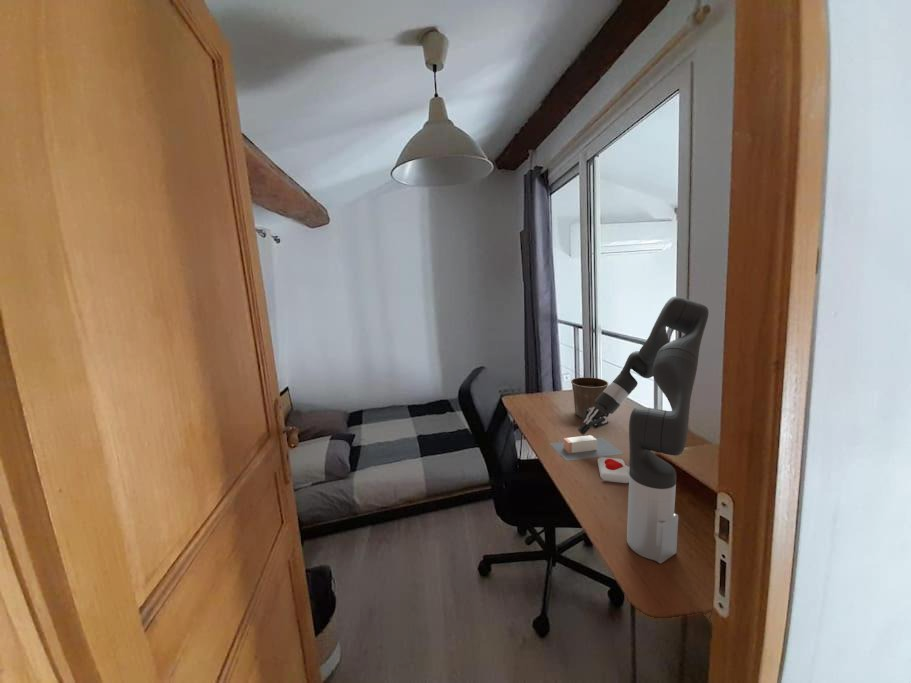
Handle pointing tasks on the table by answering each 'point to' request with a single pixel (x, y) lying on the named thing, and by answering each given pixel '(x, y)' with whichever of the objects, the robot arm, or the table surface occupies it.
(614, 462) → the icon
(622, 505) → the table surface
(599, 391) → the plant pot
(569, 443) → the cream block
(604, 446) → the grey rectangular mat
